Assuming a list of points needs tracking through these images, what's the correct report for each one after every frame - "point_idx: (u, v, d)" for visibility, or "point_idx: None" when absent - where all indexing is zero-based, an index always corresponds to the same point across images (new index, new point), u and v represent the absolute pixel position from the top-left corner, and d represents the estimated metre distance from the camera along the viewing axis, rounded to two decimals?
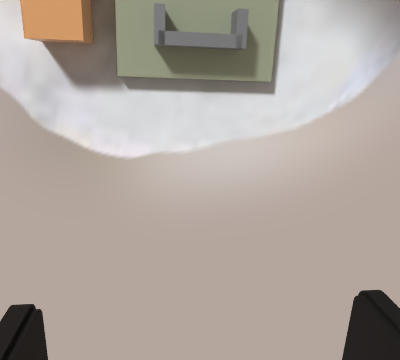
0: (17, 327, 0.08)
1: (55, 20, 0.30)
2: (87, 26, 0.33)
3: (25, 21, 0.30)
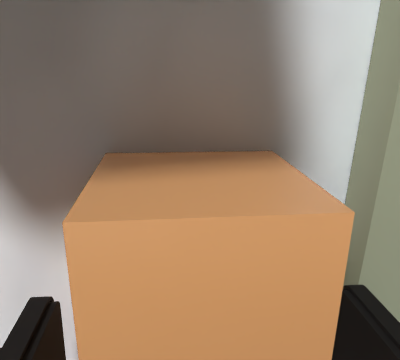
0: (38, 318, 0.09)
1: None
2: None
3: None
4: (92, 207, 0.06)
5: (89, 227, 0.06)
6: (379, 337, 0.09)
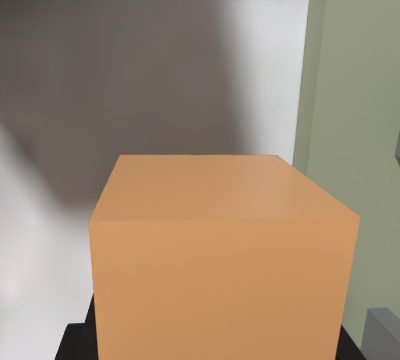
0: None
1: None
2: None
3: None
4: (114, 208, 0.07)
5: (112, 226, 0.06)
6: None
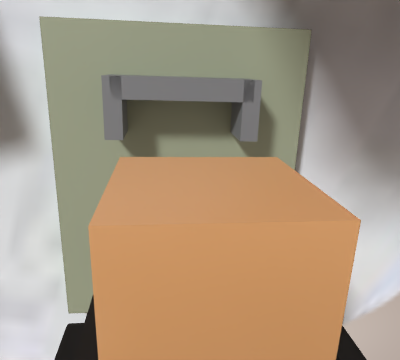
0: None
1: None
2: None
3: None
4: (114, 212, 0.07)
5: (112, 230, 0.06)
6: None
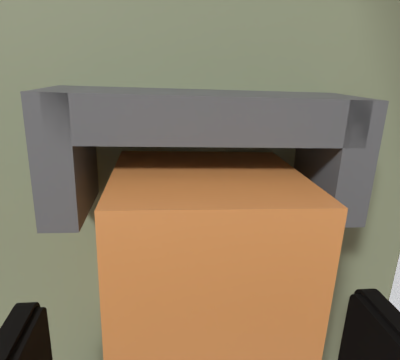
0: (22, 325, 0.08)
1: None
2: None
3: None
4: (117, 199, 0.07)
5: (117, 215, 0.07)
6: (395, 343, 0.08)
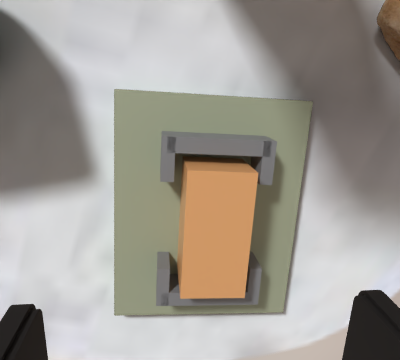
0: (17, 327, 0.08)
1: (217, 280, 0.26)
2: None
3: (184, 282, 0.26)
4: (192, 168, 0.25)
5: (193, 172, 0.24)
6: None
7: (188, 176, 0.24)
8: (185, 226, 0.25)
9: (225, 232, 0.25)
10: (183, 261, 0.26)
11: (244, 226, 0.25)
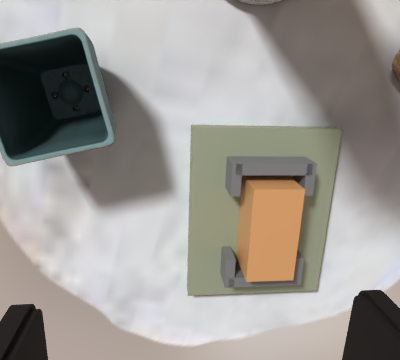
0: (17, 327, 0.08)
1: (273, 268, 0.36)
2: None
3: (249, 270, 0.35)
4: (256, 187, 0.33)
5: (258, 190, 0.33)
6: None
7: (254, 193, 0.33)
8: (251, 229, 0.34)
9: (280, 233, 0.34)
10: (249, 254, 0.35)
11: (294, 228, 0.34)
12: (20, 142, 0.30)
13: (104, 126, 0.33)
